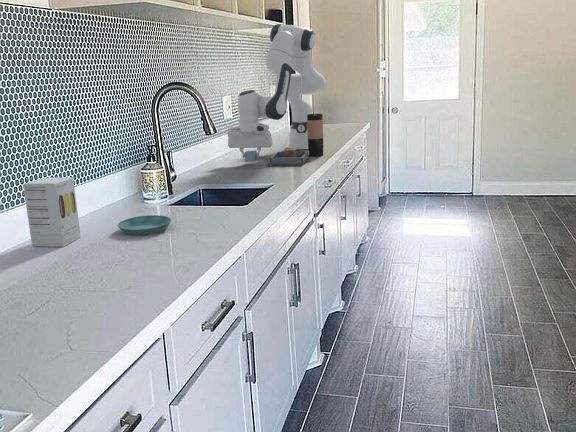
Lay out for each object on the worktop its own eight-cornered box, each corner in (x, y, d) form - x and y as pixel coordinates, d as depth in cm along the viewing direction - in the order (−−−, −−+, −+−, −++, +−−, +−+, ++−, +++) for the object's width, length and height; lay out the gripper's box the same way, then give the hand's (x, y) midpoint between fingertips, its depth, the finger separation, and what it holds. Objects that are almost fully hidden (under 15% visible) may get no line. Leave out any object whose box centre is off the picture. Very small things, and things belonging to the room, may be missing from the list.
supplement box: (63, 247, 152) (54, 183, 147) (31, 247, 153) (21, 183, 149) (82, 237, 161) (74, 176, 157) (51, 236, 162) (42, 176, 158)
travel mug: (324, 154, 291) (323, 113, 286) (323, 156, 283) (322, 114, 279) (308, 154, 292) (307, 114, 287) (307, 157, 284) (306, 115, 279)
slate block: (247, 160, 272) (246, 150, 271) (257, 160, 271) (256, 150, 270) (245, 161, 267) (244, 152, 266) (254, 161, 267) (254, 152, 266)
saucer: (111, 230, 167) (110, 221, 167) (161, 221, 175) (160, 212, 174) (127, 241, 155) (126, 232, 155) (179, 231, 163) (179, 222, 162)
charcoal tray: (277, 159, 281) (277, 151, 280) (308, 158, 279) (308, 151, 278) (270, 165, 263) (269, 158, 262) (303, 165, 261) (302, 157, 260)
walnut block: (285, 160, 272) (285, 150, 271) (287, 158, 277) (286, 149, 276) (295, 159, 272) (294, 150, 271) (296, 158, 276) (296, 148, 275)
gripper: (225, 128, 264) (227, 158, 268) (269, 127, 260) (271, 158, 264) (228, 126, 270) (230, 156, 274) (272, 125, 266) (273, 155, 270)
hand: (250, 157), depth 269 cm, fingers closed on slate block, 4 cm apart
